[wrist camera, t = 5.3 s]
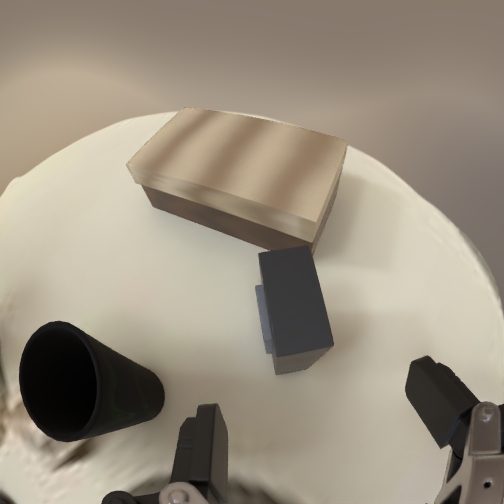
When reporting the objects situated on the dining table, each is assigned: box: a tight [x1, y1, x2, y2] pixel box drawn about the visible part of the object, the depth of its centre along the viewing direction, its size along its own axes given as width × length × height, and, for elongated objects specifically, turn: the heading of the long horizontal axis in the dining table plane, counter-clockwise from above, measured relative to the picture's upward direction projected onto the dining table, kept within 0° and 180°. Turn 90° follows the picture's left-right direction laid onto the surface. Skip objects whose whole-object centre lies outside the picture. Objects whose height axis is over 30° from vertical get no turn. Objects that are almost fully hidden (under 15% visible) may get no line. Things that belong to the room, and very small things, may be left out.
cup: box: [19, 321, 165, 442], centre depth 17 cm, size 8×8×12 cm
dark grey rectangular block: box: [255, 245, 334, 375], centre depth 19 cm, size 3×6×12 cm, turn 8°
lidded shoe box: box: [126, 107, 348, 255], centre depth 29 cm, size 20×11×8 cm, turn 64°
